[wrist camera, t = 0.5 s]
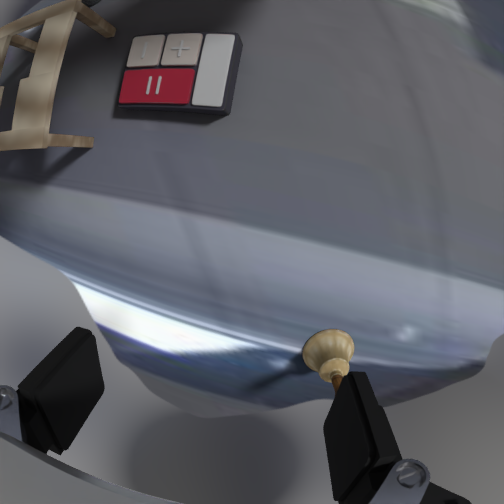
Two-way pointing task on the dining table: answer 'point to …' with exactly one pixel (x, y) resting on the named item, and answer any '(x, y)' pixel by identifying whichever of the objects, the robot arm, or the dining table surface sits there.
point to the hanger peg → (91, 2)
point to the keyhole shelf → (44, 73)
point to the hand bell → (329, 355)
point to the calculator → (181, 72)
